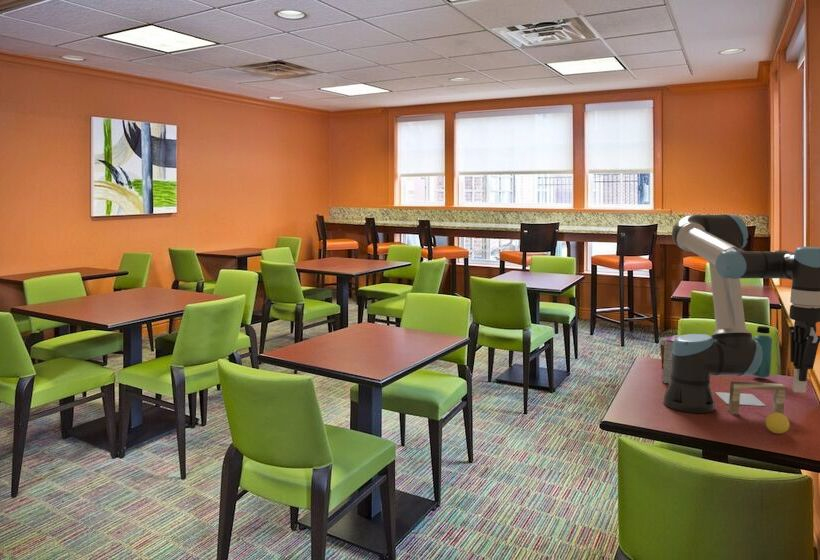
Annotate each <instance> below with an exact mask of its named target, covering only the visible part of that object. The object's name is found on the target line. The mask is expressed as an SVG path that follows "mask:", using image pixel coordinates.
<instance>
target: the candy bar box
mask: <svg viewBox="0 0 820 560" xmlns="http://www.w3.org/2000/svg"><path fill="white" fill-rule="evenodd" d="M679 336H681V335H679V334H674V335H672V336H669V337H670V338H668V339H666V340H664V361H663V368H662V380H661V381H662V382H661V383H663V382H664V383H663V384H666V383H668V384H667V385H669V383H670V381H671V368H672V349H673V343H674V340H675V339H676V338H677V337H679Z"/></svg>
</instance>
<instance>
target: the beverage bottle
mask: <svg viewBox="0 0 820 560" xmlns="http://www.w3.org/2000/svg"><path fill="white" fill-rule="evenodd" d="M756 332H757V333H759V334H756V335H755V336H752V339H755V340H757V341H758V342H759V343H760V345H761V347H762V362H761V365H760V367H759V368H758V370H757V371H756V372H755V373H754V374H751V375H752V376H754V377H760V378H767V377H770V376H771V375H770V374H771V368H772V367H771V365H772V364H771V363H772V345H773V338H772V337H771V336H769V335H767V334H770V327H769V326H766V325H765V326H763V325H762V326H761V325H759V326H757V328H756Z"/></svg>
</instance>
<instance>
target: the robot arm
mask: <svg viewBox="0 0 820 560" xmlns="http://www.w3.org/2000/svg"><path fill="white" fill-rule="evenodd" d="M671 237H672V238H671V239H672V241H673V243H674V244H675V245H676V246H677V247H678V248H679V249H681V250H683V251H685V252H692V253H694V254H696V255H697V256H699V257H701V258H703V259H704V260H706V261H708V265H709V275H710V284H711V291H712V302H713V311H714V320H715V321H714V323H715V331H714V332H713V333H712V334H711V335H709V334H705V333H699V334H698V333H688V334H683V335H680V336H679V337H677V338H676V339H675V340H674V343H673V349H672V368H671V381H670V383H669V384H668V386H667V388H666V390H665V393H664V395H663V404H664V405H665V406H666V407H668V408H670V409H672V410H675V411H680V412H683V413H684V412H685V413H690V414H708V413H711V412H713V411H714V410H715V400H714V396H713V392H712V389H711V387H710V386H711V385H710V384H711V376H736V377H742V376H751V375H752V374H754V373H755V372H756V371H757V370H758V368H759V367H760V365H761V362H762V347H761V345H760V343H759V342H758V341H757V340H755V339H753V335H752V332H751V331H750V330H749V329H747V327H746V321H745V319H746V318H745V312H744V311H745V310H744V302H743V296H742V294H743V293H742V287H741V279H785V280H791V283H792V284H791V290H790V300H789V301H790V303H791V305H790V306H789V314H788V317H789V319H790V320H793V321H794V324H793V326H789V327H788V331H789V332H788V333H789V342H790V343H789V345H790V348H789V349H790V352H789V353H790V357H789V358H790V363H792V365H793V367H794V368H793V380H792V392H794V393H803V394H806V392H807V383H808V374H809V373H808V372H809V370H812V369H814V366H815V365H814V364H815V361H816V356H817V354H818V347H819V344H820V335H817V323H820V247H819V246H797V247H796V248H795V251H794V252H793V251H788V250H785V249H784V250H779V249H778V250H772V251H751V250H750V251H748V250H747V251H746V250H744V247H746V245H747V243H748V240H747V239H748V238H749V232H748V228H747V225H746V222H745V221H744V220H743V219H742V218H741V217H740V216H738V215H735V214H726V213H725V214H691V215H687V216H684V217H682V218H680V219H679V220H678V221H677V222H676V223H675V224H674V225H673V227H672V230H671Z"/></svg>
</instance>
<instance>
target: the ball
mask: <svg viewBox="0 0 820 560" xmlns="http://www.w3.org/2000/svg"><path fill="white" fill-rule="evenodd" d="M765 425H766V427H767V429H768V430H769V432H771V433H773V434H777V435H778V434H779V435H780V434H784V433H786V432H787V431H788V430H789V429H790V420H789V419H788V417H787V416H786V415H785V414H781V413H770V414H768V415H767V416H766V418H765Z"/></svg>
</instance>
